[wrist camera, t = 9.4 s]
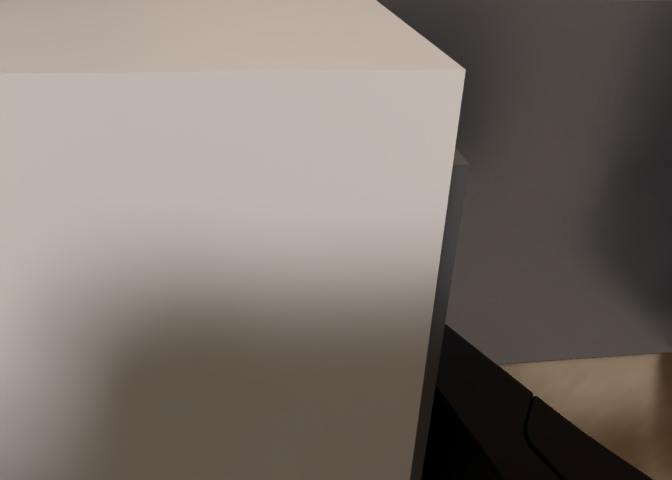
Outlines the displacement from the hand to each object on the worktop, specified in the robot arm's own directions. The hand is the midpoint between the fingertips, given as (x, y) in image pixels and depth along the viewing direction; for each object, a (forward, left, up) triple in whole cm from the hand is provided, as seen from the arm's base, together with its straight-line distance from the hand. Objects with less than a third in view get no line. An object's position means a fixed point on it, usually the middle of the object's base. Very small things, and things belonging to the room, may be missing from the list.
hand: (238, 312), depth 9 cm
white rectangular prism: (0, 0, -2) cm, 2 cm away
